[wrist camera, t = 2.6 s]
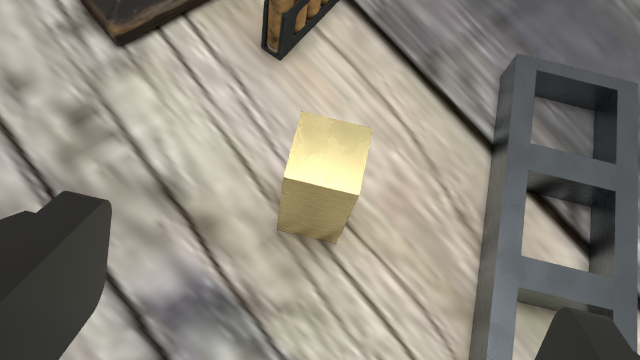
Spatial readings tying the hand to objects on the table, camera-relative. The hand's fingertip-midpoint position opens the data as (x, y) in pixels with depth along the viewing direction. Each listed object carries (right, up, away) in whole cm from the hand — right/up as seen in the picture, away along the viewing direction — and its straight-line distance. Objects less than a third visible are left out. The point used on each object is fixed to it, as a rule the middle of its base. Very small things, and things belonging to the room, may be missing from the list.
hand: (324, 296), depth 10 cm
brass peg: (-1, 0, +29) cm, 29 cm away
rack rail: (+16, -2, +30) cm, 34 cm away
